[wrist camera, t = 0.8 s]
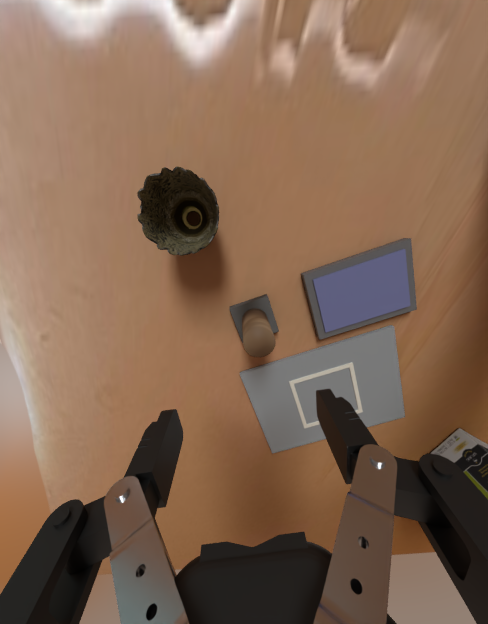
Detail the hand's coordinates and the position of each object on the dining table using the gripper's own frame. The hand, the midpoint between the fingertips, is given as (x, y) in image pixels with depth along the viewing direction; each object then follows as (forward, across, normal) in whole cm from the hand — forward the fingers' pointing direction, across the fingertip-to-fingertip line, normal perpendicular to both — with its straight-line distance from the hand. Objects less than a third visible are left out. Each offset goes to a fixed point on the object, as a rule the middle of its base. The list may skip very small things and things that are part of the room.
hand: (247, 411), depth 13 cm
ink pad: (+20, -17, 0) cm, 26 cm away
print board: (+20, -12, +18) cm, 29 cm away
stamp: (+20, -2, +2) cm, 20 cm away
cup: (+20, +4, -12) cm, 24 cm away
